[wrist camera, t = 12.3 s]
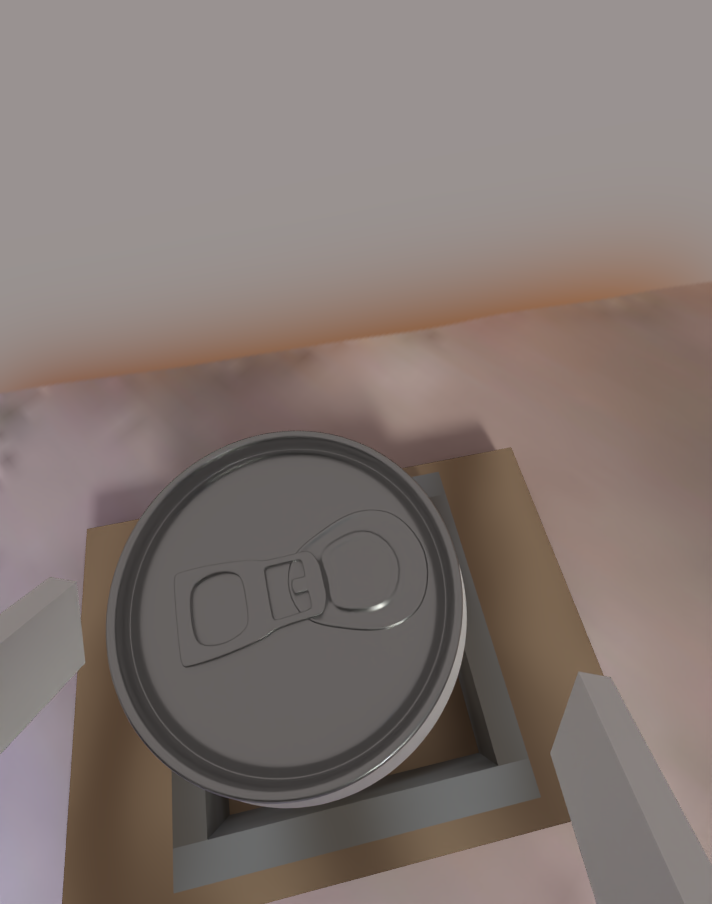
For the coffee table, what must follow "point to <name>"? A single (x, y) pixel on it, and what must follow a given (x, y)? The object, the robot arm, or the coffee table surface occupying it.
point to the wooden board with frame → (388, 800)
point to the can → (287, 620)
